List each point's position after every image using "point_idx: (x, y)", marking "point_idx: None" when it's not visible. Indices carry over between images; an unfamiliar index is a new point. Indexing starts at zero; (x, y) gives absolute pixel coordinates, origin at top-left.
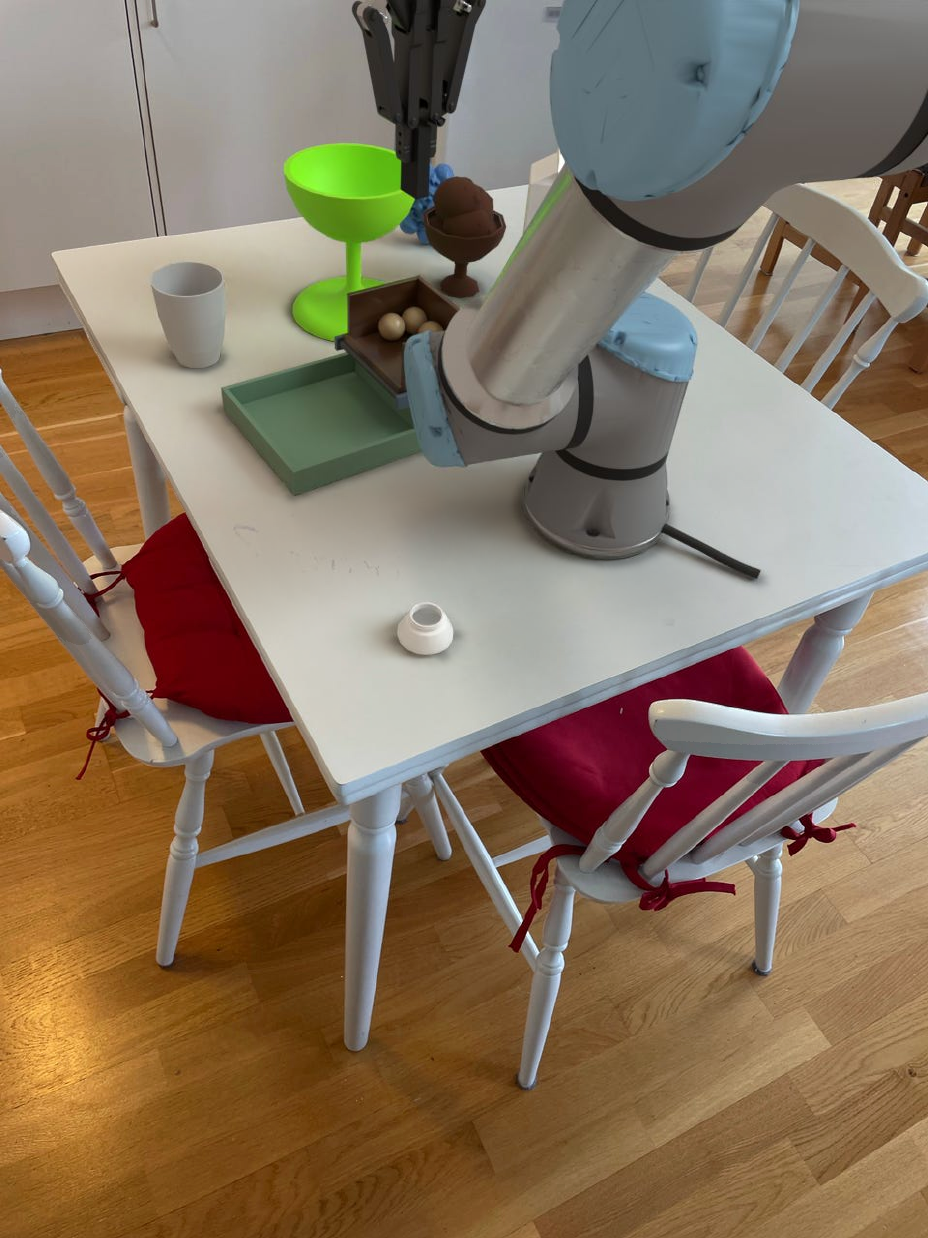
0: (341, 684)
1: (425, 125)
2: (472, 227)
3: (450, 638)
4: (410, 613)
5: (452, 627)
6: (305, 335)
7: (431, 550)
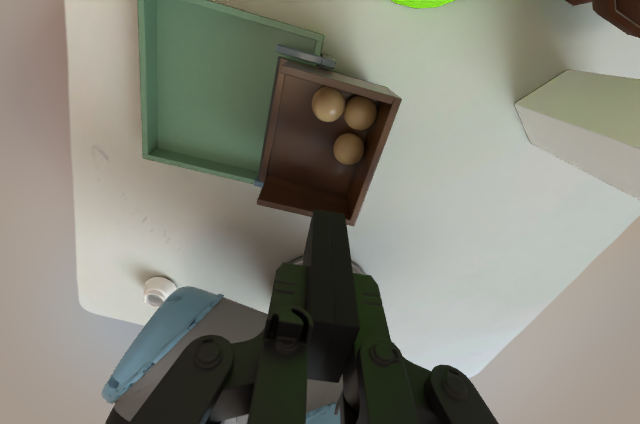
0: (103, 279)
1: (330, 372)
2: (638, 8)
3: None
4: (145, 295)
5: None
6: None
7: (209, 250)
